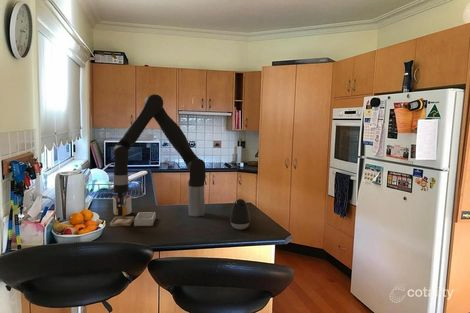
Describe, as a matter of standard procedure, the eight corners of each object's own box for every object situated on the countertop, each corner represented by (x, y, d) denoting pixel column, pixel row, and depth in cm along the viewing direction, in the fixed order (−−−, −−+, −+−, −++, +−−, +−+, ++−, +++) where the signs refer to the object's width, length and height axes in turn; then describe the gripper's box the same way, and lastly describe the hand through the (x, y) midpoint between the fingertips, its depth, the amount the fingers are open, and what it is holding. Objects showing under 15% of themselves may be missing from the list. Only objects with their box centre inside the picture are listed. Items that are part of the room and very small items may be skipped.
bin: (155, 218, 185) (155, 212, 185) (152, 225, 172) (152, 219, 171) (138, 218, 184) (138, 212, 184) (134, 226, 171) (134, 219, 170)
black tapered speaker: (233, 232, 163) (233, 202, 161) (227, 225, 173) (228, 197, 171) (252, 230, 166) (253, 200, 164) (246, 224, 176) (246, 196, 174)
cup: (126, 216, 188) (125, 199, 187) (110, 215, 190) (109, 198, 189) (134, 212, 198) (134, 195, 197) (119, 211, 200) (119, 194, 199)
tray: (133, 219, 183) (133, 216, 183) (129, 225, 171) (129, 223, 171) (115, 219, 182) (115, 217, 182) (109, 226, 170) (109, 223, 170)
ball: (128, 214, 179) (128, 203, 179) (126, 217, 173) (126, 206, 173) (117, 214, 179) (117, 203, 178) (114, 218, 173) (114, 206, 172)
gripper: (125, 185, 168) (126, 218, 169) (131, 180, 182) (131, 210, 183) (110, 185, 167) (111, 218, 168) (116, 180, 181) (117, 210, 183)
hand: (121, 214), depth 176 cm, fingers closed on ball, 6 cm apart
